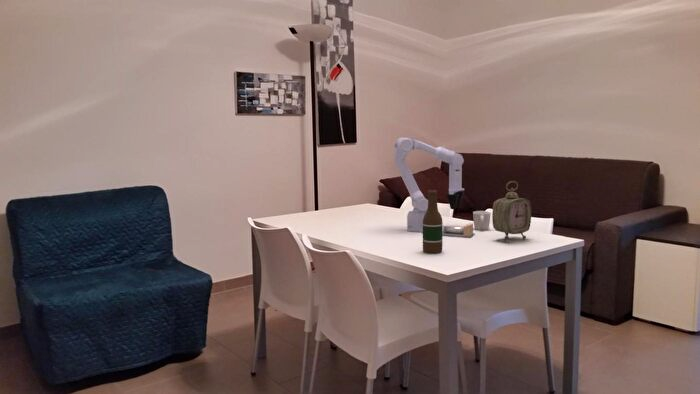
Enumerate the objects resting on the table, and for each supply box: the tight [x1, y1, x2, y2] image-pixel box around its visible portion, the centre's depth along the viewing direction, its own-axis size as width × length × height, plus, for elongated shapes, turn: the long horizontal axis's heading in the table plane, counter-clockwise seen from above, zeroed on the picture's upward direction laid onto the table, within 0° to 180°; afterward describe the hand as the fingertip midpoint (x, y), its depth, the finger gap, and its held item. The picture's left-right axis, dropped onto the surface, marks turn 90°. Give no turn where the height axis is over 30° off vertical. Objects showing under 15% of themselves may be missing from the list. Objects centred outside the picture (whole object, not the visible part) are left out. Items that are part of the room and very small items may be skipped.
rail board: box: [442, 222, 476, 239], centre depth 243 cm, size 19×8×5 cm, turn 64°
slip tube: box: [442, 225, 464, 234], centre depth 242 cm, size 11×3×3 cm, turn 64°
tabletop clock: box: [491, 180, 532, 243], centre depth 229 cm, size 14×9×25 cm, turn 122°
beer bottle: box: [422, 189, 444, 255], centre depth 211 cm, size 8×8×24 cm
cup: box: [472, 210, 492, 231], centre depth 253 cm, size 11×8×8 cm
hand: (455, 208), depth 256 cm, fingers open, 7 cm apart
